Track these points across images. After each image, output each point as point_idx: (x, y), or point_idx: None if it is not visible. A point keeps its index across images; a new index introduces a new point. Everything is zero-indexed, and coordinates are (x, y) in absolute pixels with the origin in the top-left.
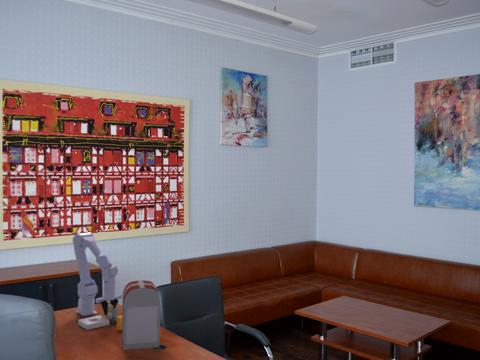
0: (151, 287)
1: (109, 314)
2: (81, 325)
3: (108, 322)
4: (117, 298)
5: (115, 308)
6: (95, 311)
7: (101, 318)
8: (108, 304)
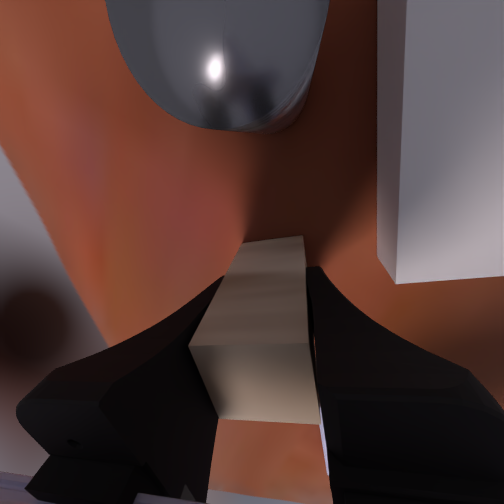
0: None
1: (278, 260)
2: None
3: None
4: (25, 496)
5: (178, 64)
6: (320, 428)
7: (478, 123)
8: (256, 415)
